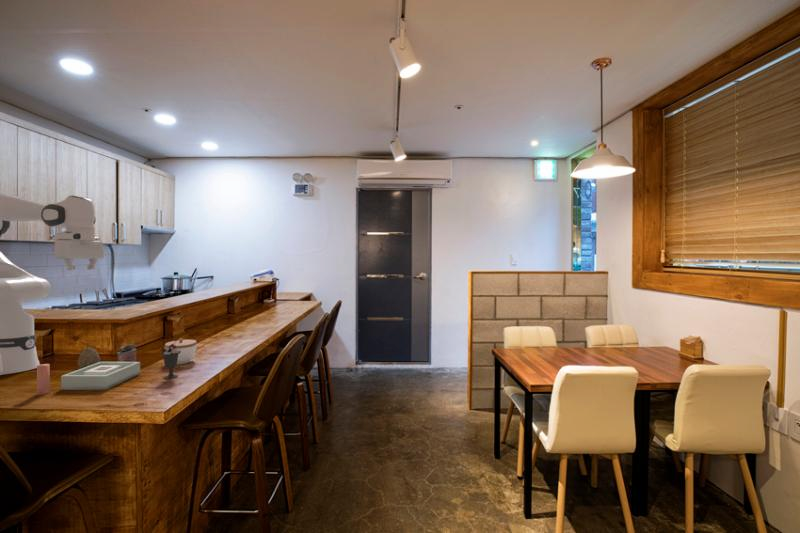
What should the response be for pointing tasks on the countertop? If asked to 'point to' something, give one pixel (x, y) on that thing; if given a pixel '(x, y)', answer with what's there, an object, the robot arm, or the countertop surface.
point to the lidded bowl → (184, 349)
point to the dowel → (43, 379)
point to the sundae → (170, 359)
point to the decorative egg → (88, 358)
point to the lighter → (127, 353)
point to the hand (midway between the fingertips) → (81, 269)
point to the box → (100, 376)
